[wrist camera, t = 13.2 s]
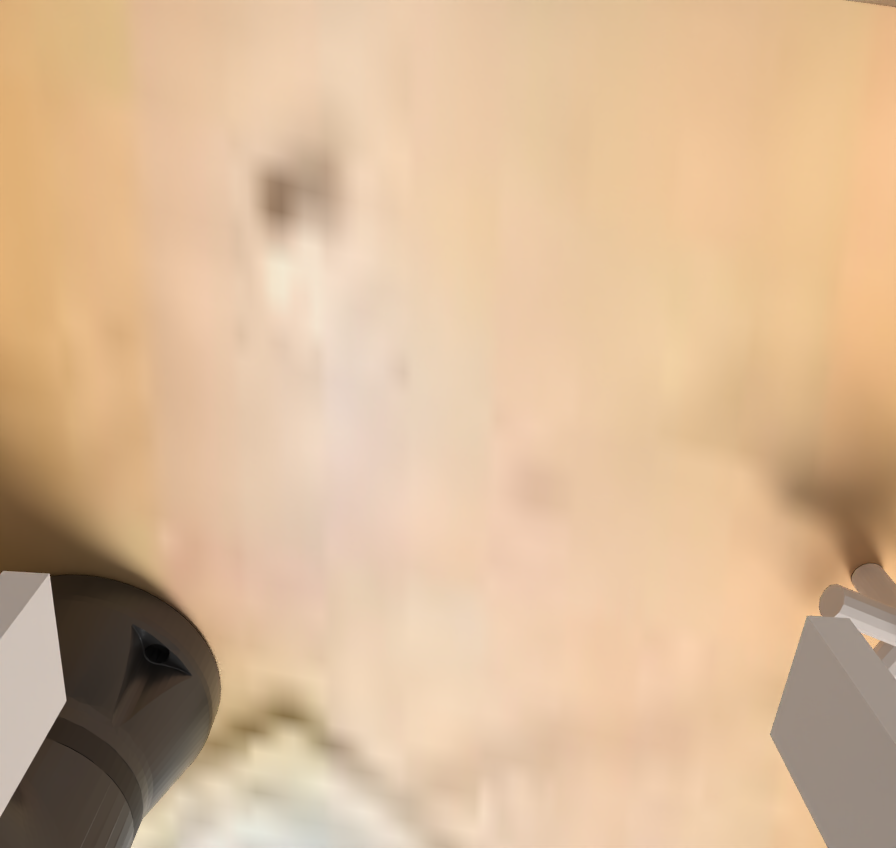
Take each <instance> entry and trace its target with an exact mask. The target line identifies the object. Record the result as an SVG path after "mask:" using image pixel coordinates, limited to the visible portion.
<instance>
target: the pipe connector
mask: <svg viewBox="0 0 896 848" xmlns="http://www.w3.org/2000/svg"><path fill="white" fill-rule="evenodd" d="M852 584H853V585H854V587H855V588H856V589H857V591H858V592H859V593H858V592H855V591H853V590H850V589H848V588H845V587H843V586H840V585H838V584H834V585H830V586H829V587H828V588H826V589H825V590H824V592H823V594H822V595H821V597H820V602H819V610H820V613H821V615H822V616H823V617H839V618H850V620H851V621H852V622H853V624H854V625H855V626H856V628H857V629H858V630H859V632H861V633H863V634H866V635H868V636H871V637H873V638H876V639H878V640H881V641H880V642H879V643H878V644H877V645H876V647H875V648H874V649H873V650H874V651H875V653H876V654H877V655H878V657H879V658H880V659H881V661H882V662H883V663H884V665H885V666H886V667H887V668H888V670H889V671H890V672H891V674H892V675H893V676H894V678H895V679H896V584H895V583H894V582H893V581H892V579H891V578H890V577H889V576H888V574H887V573H886V572H885V571H884V570H883V568H882V567H881V566H879V565H878V564H874V563H869V564H864V565H862V566H860V567H859V568H857V569H856V570H855V571H854V573H853V575H852Z"/></svg>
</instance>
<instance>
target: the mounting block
mask: <svg viewBox="0 0 896 848" xmlns="http://www.w3.org/2000/svg"><path fill="white" fill-rule="evenodd" d="M848 1H855V2H863V3H870V4H878V5H885V6H892V7H896V0H848Z"/></svg>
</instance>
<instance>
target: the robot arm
mask: <svg viewBox="0 0 896 848" xmlns="http://www.w3.org/2000/svg"><path fill="white" fill-rule="evenodd" d="M220 694H221V686H220V677H219V672H218V668H217V665H216V662H215V660H214V657H213V655H212V653H211V651H210V649H209V647H208V646H207V644H206V643H205V641H204V640H203V638H202V637H201V635H200V634H199V633H198V632H197V630H196V629H195V628H194V627H193V626H192V625H191V624H190V623H189V622H188V621H187V620H186V619H185V618H184V617H183V616H182V615H181V614H179V613H178V612H177V611H176V610H174V609H173V608H172V607H170V606H169V605H167V604H166V603H164V602H163V601H161V600H159V599H158V598H156V597H154V596H152V595H151V594H149V593H147V592H144V591H142V590H140V589H138V588H135V587H133V586H130V585H127V584H124V583H121V582H118V581H114V580H110V579H105V578H100V577H94V576H84V575H59V576H50V573H32V572H14V571H2V573H1V574H0V848H131V845H132V842H133V840H134V838H135V835H136V833H137V831H138V828H139V826H140V824H141V821H142V819H143V818H144V817H145V816H146V814H147V813H148V812H149V811H150V810H151V809H152V808H153V807H154V805H155V804H156V803H157V802H158V801H159V800H160V799H161V797H162V796H163V795H164V794H165V793H166V792H167V791H168V790H169V788H170V787H171V786H172V785H173V784H174V783H175V782H176V781H177V779H178V778H179V777H180V776H181V775H182V774H183V773H184V771H185V770H186V769H187V768H188V767H189V766H190V765H191V763H192V762H193V761H194V760H195V759H196V757H197V756H198V754H199V753H200V751H201V750H202V748H203V746H204V744H205V742H206V740H207V738H208V735H209V733H210V730H211V727H212V725H213V722H214V719H215V716H216V714H217V711H218V707H219V703H220ZM770 735H771V737H772V739H773V741H774V743H775V745H776V747H777V749H778V751H779V753H780V755H781V757H782V759H783V761H784V763H785V765H786V767H787V769H788V771H789V773H790V775H791V777H792V779H793V781H794V783H795V784H796V786H797V788H798V790H799V792H800V794H801V796H802V798H803V800H804V802H805V804H806V806H807V808H808V810H809V812H810V814H811V816H812V818H813V820H814V822H815V824H816V826H817V828H818V830H819V832H820V834H821V835H822V837H823V839H824V841H825V843H826V845H827V847H828V848H896V679H895V678H894V676H893V675H892V674H891V672H890V671H889V670H888V668H887V667H886V666H885V665H884V663H883V662H882V661H881V659H880V658H879V657H878V655H877V654H876V653H875V651H874V650H873V649H872V647H871V646H870V645H869V643H868V642H867V641H866V640H865V638H864V637H863V636H862V634H861V633H860V632H859V630H858V629H857V628H856V626H855V625H854V624H853V622H852V621H851V620H850V618H839V617H821V616H807V618H806V621H805V624H804V627H803V631H802V634H801V637H800V640H799V643H798V647H797V650H796V653H795V656H794V659H793V663H792V666H791V669H790V672H789V675H788V679H787V682H786V685H785V688H784V691H783V695H782V698H781V701H780V704H779V707H778V711H777V714H776V717H775V720H774V723H773V726H772V730H771V733H770Z"/></svg>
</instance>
